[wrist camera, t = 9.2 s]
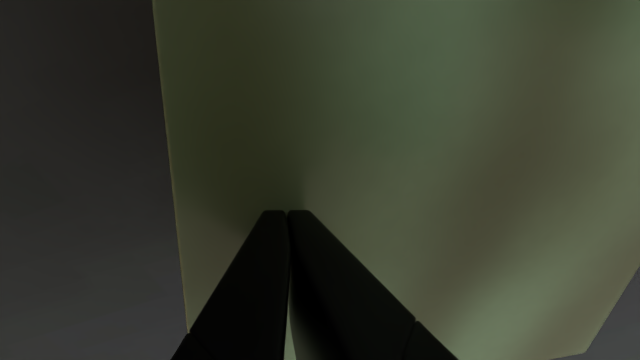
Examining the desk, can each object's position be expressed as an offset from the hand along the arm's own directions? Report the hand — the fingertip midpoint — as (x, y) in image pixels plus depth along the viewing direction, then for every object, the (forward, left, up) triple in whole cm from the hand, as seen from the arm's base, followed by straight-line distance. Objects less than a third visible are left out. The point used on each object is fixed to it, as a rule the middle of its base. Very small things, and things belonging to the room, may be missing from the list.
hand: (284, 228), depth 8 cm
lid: (-4, 0, -1) cm, 4 cm away
